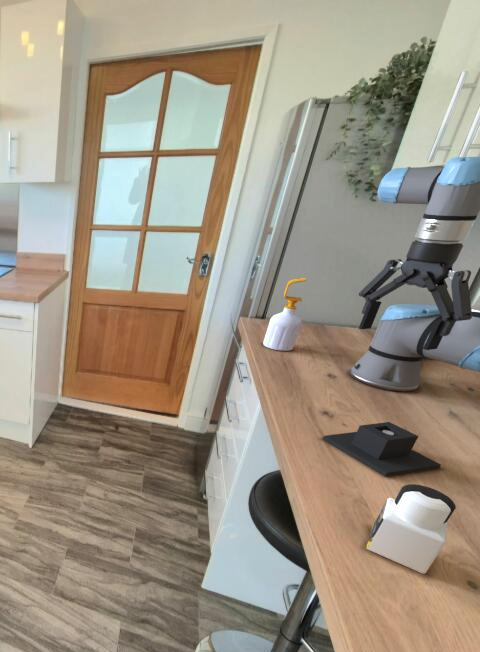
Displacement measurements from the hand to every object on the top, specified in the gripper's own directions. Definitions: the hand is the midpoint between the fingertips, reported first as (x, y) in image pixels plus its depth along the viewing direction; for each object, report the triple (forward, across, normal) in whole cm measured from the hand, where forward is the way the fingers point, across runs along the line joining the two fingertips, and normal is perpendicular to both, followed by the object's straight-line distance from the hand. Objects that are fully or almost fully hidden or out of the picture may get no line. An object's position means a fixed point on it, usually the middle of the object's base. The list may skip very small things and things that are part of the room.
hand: (395, 338), depth 97 cm
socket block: (+21, +12, -9) cm, 26 cm away
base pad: (+22, +12, -9) cm, 27 cm away
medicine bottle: (+22, +34, -34) cm, 53 cm away
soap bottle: (+23, -48, +24) cm, 58 cm away
